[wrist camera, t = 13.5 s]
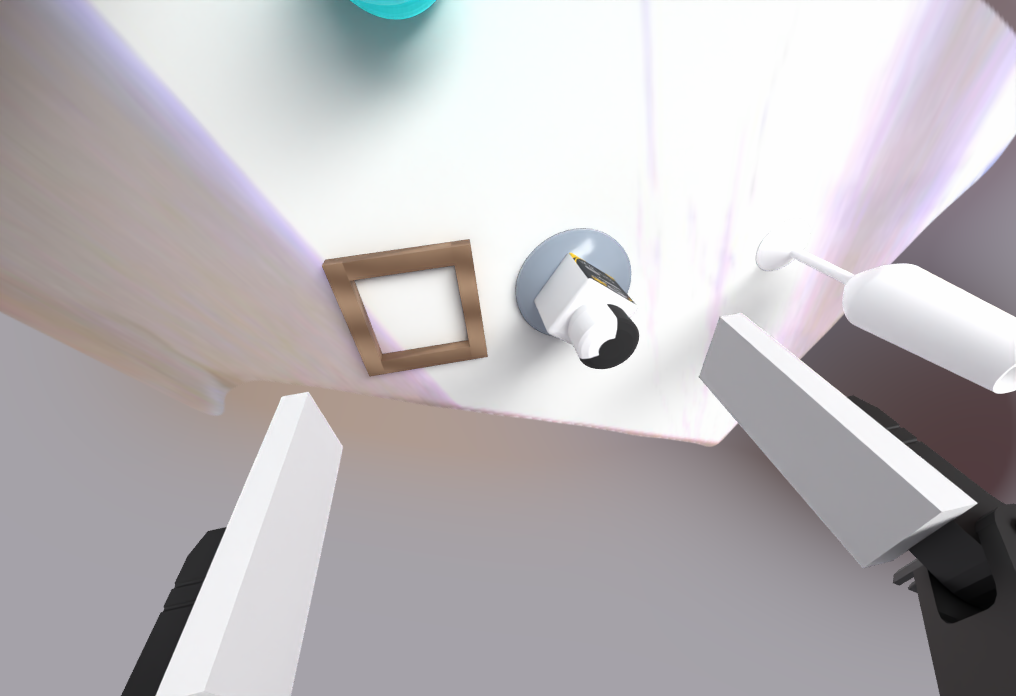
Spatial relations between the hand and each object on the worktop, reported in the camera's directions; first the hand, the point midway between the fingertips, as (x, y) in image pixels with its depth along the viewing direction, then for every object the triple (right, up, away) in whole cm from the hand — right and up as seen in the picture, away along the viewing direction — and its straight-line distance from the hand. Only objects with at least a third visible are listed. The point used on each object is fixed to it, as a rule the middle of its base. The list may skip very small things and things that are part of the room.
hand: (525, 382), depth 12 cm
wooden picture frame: (-11, +6, +31) cm, 33 cm away
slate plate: (+7, +9, +32) cm, 34 cm away
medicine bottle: (+7, +8, +31) cm, 33 cm away
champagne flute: (+34, +14, +33) cm, 50 cm away
